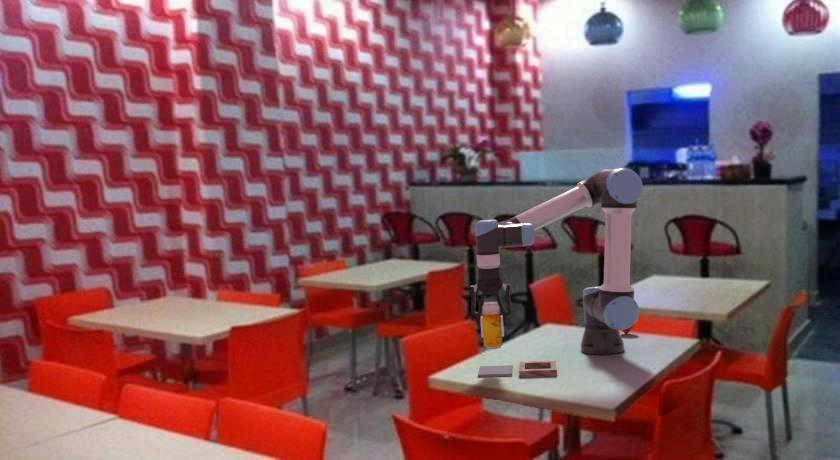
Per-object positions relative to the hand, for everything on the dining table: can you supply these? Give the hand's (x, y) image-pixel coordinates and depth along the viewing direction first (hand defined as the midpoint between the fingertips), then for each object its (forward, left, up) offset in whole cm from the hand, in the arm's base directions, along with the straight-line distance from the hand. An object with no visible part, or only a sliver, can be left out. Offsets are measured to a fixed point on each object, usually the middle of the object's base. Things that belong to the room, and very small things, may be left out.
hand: (492, 335), depth 257 cm
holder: (-14, +1, -12) cm, 19 cm away
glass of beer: (0, 0, -4) cm, 4 cm away
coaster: (0, 0, -12) cm, 12 cm away
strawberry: (-48, -52, -12) cm, 72 cm away
